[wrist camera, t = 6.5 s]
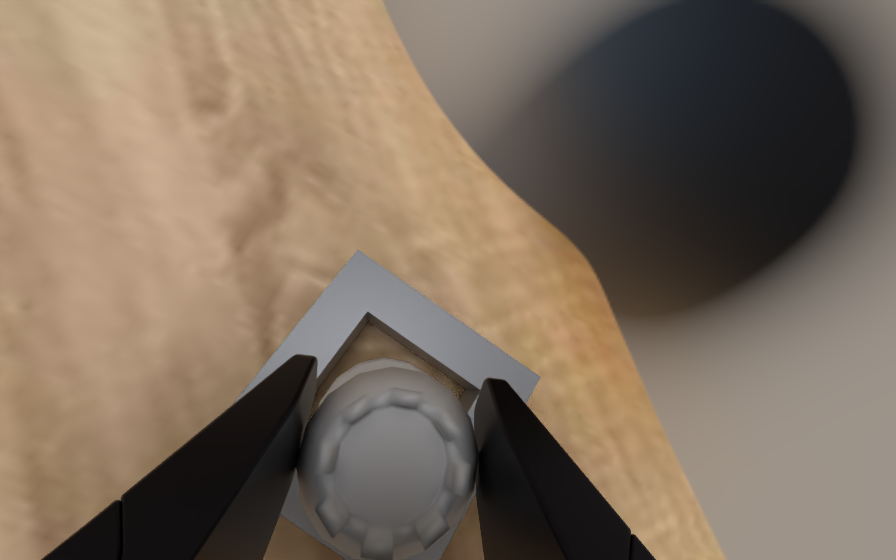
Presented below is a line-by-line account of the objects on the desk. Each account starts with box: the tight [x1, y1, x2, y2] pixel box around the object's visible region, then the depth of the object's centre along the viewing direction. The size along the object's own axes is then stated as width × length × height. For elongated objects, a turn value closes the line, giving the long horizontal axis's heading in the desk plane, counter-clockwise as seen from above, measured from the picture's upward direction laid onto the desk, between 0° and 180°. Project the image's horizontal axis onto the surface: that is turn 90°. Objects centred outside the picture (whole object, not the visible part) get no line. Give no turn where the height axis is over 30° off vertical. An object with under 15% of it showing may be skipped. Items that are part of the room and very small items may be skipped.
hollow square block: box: [234, 250, 540, 560], centre depth 18 cm, size 10×10×3 cm
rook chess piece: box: [296, 357, 479, 560], centre depth 10 cm, size 4×4×8 cm
